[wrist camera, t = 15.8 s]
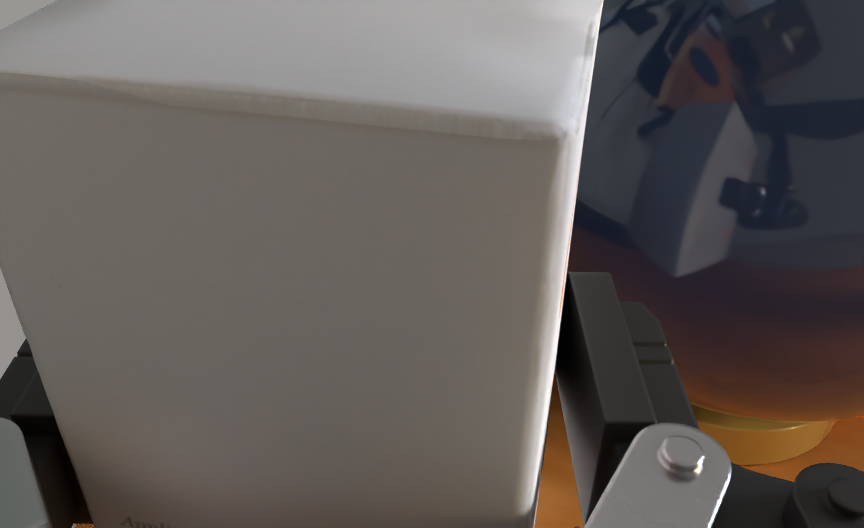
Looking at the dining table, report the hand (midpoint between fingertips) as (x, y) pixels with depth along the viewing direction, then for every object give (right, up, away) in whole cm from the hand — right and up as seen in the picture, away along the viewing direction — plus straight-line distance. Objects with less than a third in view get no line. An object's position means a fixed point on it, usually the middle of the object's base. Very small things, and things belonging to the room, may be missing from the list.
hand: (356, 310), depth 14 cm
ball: (+13, -4, +19) cm, 23 cm away
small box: (0, -6, +4) cm, 7 cm away
